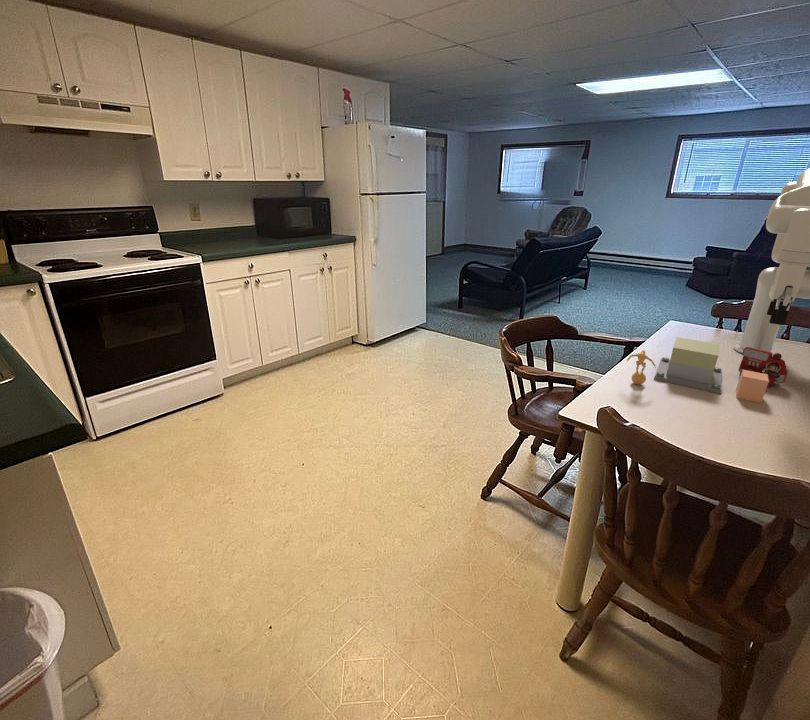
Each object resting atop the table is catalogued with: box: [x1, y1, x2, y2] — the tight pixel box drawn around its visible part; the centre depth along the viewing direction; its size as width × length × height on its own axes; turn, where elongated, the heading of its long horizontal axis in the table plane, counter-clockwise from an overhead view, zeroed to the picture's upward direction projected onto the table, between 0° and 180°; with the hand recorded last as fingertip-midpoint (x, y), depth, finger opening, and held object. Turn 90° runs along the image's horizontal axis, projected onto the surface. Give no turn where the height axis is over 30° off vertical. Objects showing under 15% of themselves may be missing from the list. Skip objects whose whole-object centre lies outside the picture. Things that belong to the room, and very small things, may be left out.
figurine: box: [626, 349, 657, 386], centre depth 136 cm, size 8×6×12 cm
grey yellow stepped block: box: [653, 336, 723, 395], centre depth 142 cm, size 18×18×11 cm
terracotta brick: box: [735, 370, 769, 404], centre depth 130 cm, size 6×6×7 cm
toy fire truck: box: [738, 347, 789, 388], centre depth 140 cm, size 7×12×10 cm, turn 42°
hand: (774, 319), depth 122 cm, fingers open, 9 cm apart
